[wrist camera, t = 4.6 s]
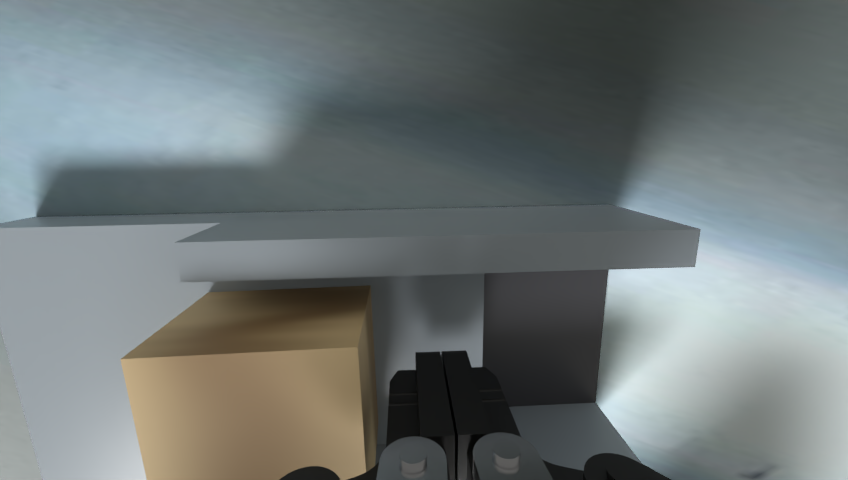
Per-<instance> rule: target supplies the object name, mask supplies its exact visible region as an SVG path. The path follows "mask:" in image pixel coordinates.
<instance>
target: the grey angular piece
mask: <svg viewBox="0 0 848 480" xmlns="http://www.w3.org/2000/svg"><path fill="white" fill-rule="evenodd" d="M699 236H700V229H698V228H694V227H691V226H687V225H683V224H680V223H676V222H672V221H669V220H665V219H661V218H658V217H654V216H650V215H647V214H643V213H639V212H636V211H632V210H628V209H625V208H621V207H617V206H614V205H610V204H608V205H562V206H516V207H470V208H424V209H378V210H332V211H286V212H240V213H194V214H148V215H102V216H56V217H32V218H26V219H21V220H16V221H11V222H5V223H0V329H1V333H2V337H3V340H4V344H5V347H6V351H7V355H8V358H9V362H10V365H11V369H12V373H13V376H14V380H15V383H16V387H17V391H18V394H19V398H20V401H21V405H22V409H23V412H24V416H25V419H26V423H27V427H28V430H29V434H30V437H31V441H32V445H33V448H34V452H35V455H36V459H37V463H38V466H39V470H40V473H41V477H42V480H147V479H146V474H145V470H144V465H143V461H142V456H141V452H140V447H139V442H138V438H137V433H136V429H135V424H134V420H133V415H132V410H131V406H130V401H129V397H128V392H127V388H126V383H125V378H124V374H123V369H122V365H121V360H120V359H121V358H123V357H124V356H125V355H127V354H128V353H129V352H130V351H132V350H133V349H134V348H136V347H137V346H138V345H140V344H141V343H142V342H144V341H145V340H146V339H148V338H149V337H150V336H152V335H153V334H154V333H155V332H157V331H158V330H159V329H161V328H162V327H163V326H165V325H166V324H167V323H169V322H170V321H171V320H173V319H174V318H175V317H177V316H178V315H179V314H180V313H182V312H183V311H184V310H186V309H187V308H188V307H190V306H191V305H192V304H194V303H195V302H196V301H198V300H199V299H200V298H202V297H203V296H204V295H205V294H207V293H208V292H227V291H251V290H274V289H298V288H321V287H345V286H368V285H371V303H372V320H373V338H374V355H375V372H376V390H377V407H378V434H377V447H376V461H375V465H376V464H377V463H378V462H379V461H380V457H381V454H382V452H383V451H384V450H385V448H386V438H387V421H388V406H389V388H390V380H391V379H392V378H393V376H394V375H395V374H396V372H397V371H398V370H416V361H415V352H438V351H440V354H441V352H442V351H463V350H466V351H467V354H468V357H469V361H470V364H471V367H486V368H487V369H488V370H489V371H491V372H492V373H493V374H494V375H495V376H496V377H497V379H498V381H499V384H500V386H501V389H502V391H503V394H504V396H505V398H506V401H507V403H508V406H509V408H510V411H511V413H512V416H513V418H514V420H515V423H516V425H517V428H518V430H519V433H520V435H521V437H522V438H524V439H525V440H527V441H528V442H530V443H531V444H532V445H533V446H534V447H535V448H536V450H537V451H538V453H539V455H540V456H541V458H542V459H543V460H545V461H547V462H549V463H552V464H555V465H559V466H563V467H568V468H573V469H577V470H582V471H584V465H585V463H586V461H587V460H588V459H589V458H590V457H592V456H594V455H596V454H600V453H614V454H619V455H623V456H626V457H629V458H631V459H633V460H636V461H638V462H639V463H641V462H640V461H639V459H638V458H637V457H636V455H635V454H634V453H633V451H632V450H631V449H630V448H629V446H628V445H627V444H626V442H625V441H624V440H623V438H622V437H621V436H620V434H619V433H618V432H617V430H616V429H615V428H614V427H613V425H612V424H611V423H610V421H609V420H608V419H607V417H606V416H605V415H604V413H603V412H602V411H601V409H600V408H599V407H598V406H597V404H596V403H595V400H596V390H597V379H598V369H599V359H600V348H601V338H602V328H603V317H604V307H605V297H606V286H607V276H608V269H639V268H672V267H695V263H696V256H697V249H698V242H699ZM641 464H642V463H641Z"/></svg>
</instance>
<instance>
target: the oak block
mask: <svg viewBox="0 0 848 480" xmlns="http://www.w3.org/2000/svg"><path fill="white" fill-rule="evenodd" d="M120 360H121V365H122V369H123V374H124V378H125V383H126V388H127V392H128V397H129V401H130V406H131V410H132V415H133V420H134V424H135V429H136V433H137V438H138V442H139V447H140V452H141V456H142V461H143V465H144V470H145V474H146V479H147V480H279V479H281V478H282V477H284V476H285V475H286V474H288V473H290V472H292V471H294V470H297V469H300V468H303V467H309V466H320V467H325V468H328V469H330V470H332V471H333V472H335V473H336V474H337V476H338V477H339V478H340V480H347V479H350V478H353V477H356V476H359V475H361V474H363V473H365V472H367V471H369V470H370V469H372V468H373V467H374V466H375V461H376V447H377V434H378V407H377V390H376V372H375V355H374V338H373V320H372V303H371V285H368V286H345V287H321V288H298V289H274V290H251V291H227V292H208V293H207V294H205V295H204V296H203V297H202V298H200V299H199V300H198V301H196V302H195V303H194V304H192V305H191V306H190V307H188V308H187V309H186V310H184V311H183V312H182V313H180V314H179V315H178V316H177V317H175V318H174V319H173V320H171V321H170V322H169V323H167V324H166V325H165V326H163V327H162V328H161V329H159V330H158V331H157V332H155V333H154V334H153V335H152V336H150V337H149V338H148V339H146V340H145V341H144V342H142V343H141V344H140V345H138V346H137V347H136V348H134V349H133V350H132V351H130V352H129V353H128V354H127V355H125V356H124V357H123V358H121V359H120Z"/></svg>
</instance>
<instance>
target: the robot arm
mask: <svg viewBox="0 0 848 480" xmlns="http://www.w3.org/2000/svg"><path fill="white" fill-rule="evenodd" d="M415 361H416V370H398V371H397V372H396V374H395V375H394V376H393V378H392V379H391V380H390V388H389V406H388V421H387V438H386V448H385V450H384V451H383V452H382V454H381V457H380V461H379V462H378V463H377V464H376V465H375V466H374V467H373V468H372V469H370V470H369V471H367V472H365V473H363V474H361V475H359V476H356V477H353V478H350V479H347V480H671V479H669V478H667V477H665V476H663V475H661V474H660V473H658V472H656V471H654V470H652V469H650V468H649V467H647V466H645V465H643V464H641V463H639V462H638V461H636V460H633V459H631V458H629V457H626V456H623V455H619V454H614V453H600V454H596V455H594V456H592V457H590V458H589V459H588V460H587V461H586V463H585V465H584V471H582V470H577V469H573V468H568V467H563V466H559V465H555V464H552V463H549V462H547V461H545V460H543V459H542V458H541V456H540V455H539V453H538V451H537V450H536V448H535V447H534V446H533V445H532V444H531V443H530V442H528V441H527V440H525V439H524V438H522V437H521V435H520V433H519V430H518V428H517V425H516V423H515V420H514V418H513V416H512V413H511V411H510V408H509V406H508V403H507V401H506V398H505V396H504V394H503V391H502V389H501V386H500V384H499V381H498V379H497V377H496V376H495V375H494V374H493V373H492V372H491V371H489V370H488V369H487V368H486V367H471V364H470V361H469V357H468V354H467V351H466V350H463V351H442V352H441V354H440V351H438V352H415ZM279 480H340V478H339V477H338V476H337V474H336V473H335V472H333V471H332V470H330V469H328V468H325V467H320V466H309V467H303V468H300V469H297V470H294V471H292V472H290V473H288V474H286V475H285V476H284V477H282V478H281V479H279Z"/></svg>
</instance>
